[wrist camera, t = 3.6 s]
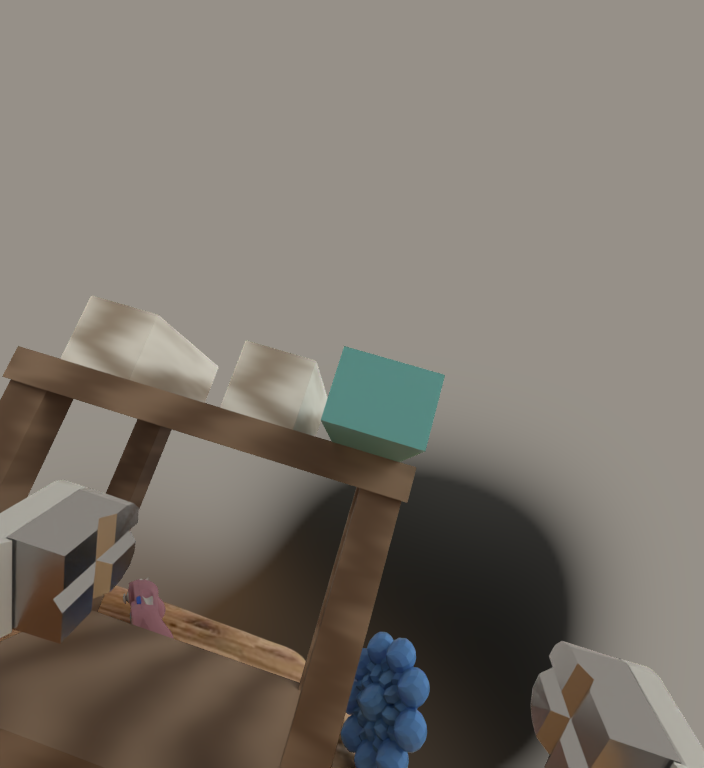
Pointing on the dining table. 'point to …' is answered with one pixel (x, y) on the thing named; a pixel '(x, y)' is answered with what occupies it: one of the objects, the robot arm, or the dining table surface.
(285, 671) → the dining table surface
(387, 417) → the module bar
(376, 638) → the grapes
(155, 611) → the video game controller
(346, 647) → the shelf
